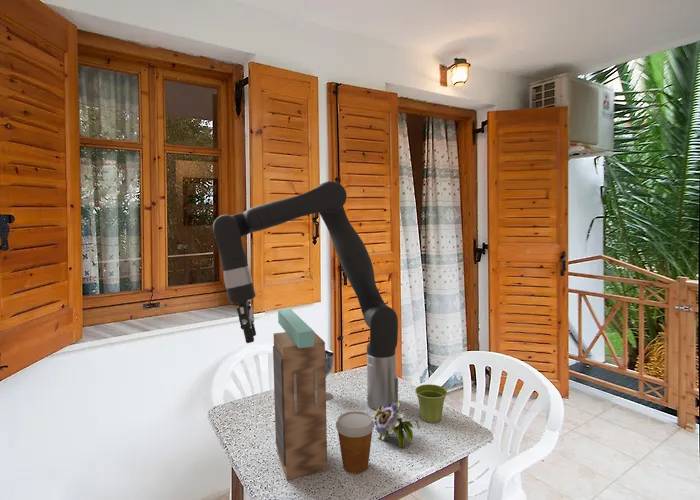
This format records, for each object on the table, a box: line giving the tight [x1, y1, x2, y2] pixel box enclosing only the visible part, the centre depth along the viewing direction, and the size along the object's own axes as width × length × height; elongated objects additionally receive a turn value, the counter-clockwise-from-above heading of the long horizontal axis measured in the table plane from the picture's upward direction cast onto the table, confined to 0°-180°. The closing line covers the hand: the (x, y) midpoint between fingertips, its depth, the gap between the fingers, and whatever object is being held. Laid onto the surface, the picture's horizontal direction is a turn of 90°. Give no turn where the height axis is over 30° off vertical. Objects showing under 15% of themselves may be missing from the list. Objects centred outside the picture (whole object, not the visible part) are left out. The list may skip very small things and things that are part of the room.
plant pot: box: [414, 383, 448, 424], centre depth 122 cm, size 9×9×9 cm
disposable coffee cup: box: [335, 410, 375, 475], centre depth 99 cm, size 10×10×12 cm
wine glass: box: [325, 349, 335, 402], centre depth 138 cm, size 8×8×15 cm
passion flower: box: [373, 400, 421, 449], centre depth 112 cm, size 11×11×12 cm
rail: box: [277, 308, 315, 348], centre depth 103 cm, size 4×24×4 cm, turn 21°
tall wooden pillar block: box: [272, 331, 328, 481], centre depth 100 cm, size 10×12×32 cm
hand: (251, 339), depth 116 cm, fingers open, 8 cm apart
